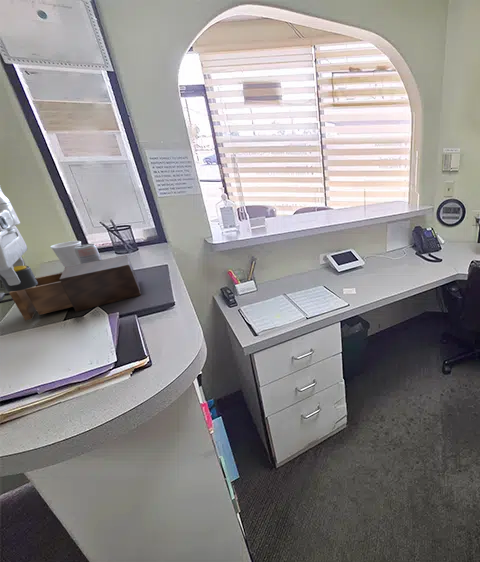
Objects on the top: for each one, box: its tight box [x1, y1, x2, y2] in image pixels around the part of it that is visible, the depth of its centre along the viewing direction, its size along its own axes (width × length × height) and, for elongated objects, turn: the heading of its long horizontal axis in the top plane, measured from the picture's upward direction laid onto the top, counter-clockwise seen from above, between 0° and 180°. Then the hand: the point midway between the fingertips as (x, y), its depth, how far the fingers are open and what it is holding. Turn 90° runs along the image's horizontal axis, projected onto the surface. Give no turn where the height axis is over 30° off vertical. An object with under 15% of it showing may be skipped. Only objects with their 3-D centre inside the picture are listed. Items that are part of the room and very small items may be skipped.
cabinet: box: [60, 254, 142, 313], centre depth 89 cm, size 15×13×10 cm
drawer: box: [0, 271, 74, 321], centre depth 83 cm, size 18×11×8 cm, turn 128°
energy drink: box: [74, 243, 103, 264], centre depth 102 cm, size 5×5×12 cm
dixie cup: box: [49, 240, 82, 268], centre depth 114 cm, size 8×8×10 cm
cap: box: [0, 265, 38, 292], centre depth 70 cm, size 5×5×4 cm
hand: (19, 280), depth 70 cm, fingers closed on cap, 5 cm apart
